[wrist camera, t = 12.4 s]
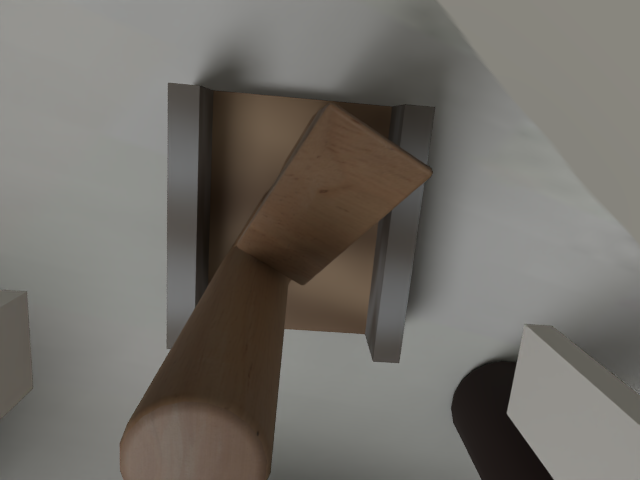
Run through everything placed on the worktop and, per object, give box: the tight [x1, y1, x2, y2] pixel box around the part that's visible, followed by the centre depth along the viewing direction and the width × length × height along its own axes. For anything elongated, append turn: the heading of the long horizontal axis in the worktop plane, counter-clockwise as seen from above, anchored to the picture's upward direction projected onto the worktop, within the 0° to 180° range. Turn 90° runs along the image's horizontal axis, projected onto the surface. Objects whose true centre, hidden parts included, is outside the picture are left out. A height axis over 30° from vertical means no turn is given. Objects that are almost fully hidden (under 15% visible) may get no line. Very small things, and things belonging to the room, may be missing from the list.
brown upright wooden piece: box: [120, 103, 433, 480], centre depth 19 cm, size 4×11×18 cm, turn 147°
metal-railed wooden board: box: [167, 83, 435, 363], centre depth 26 cm, size 14×13×4 cm
